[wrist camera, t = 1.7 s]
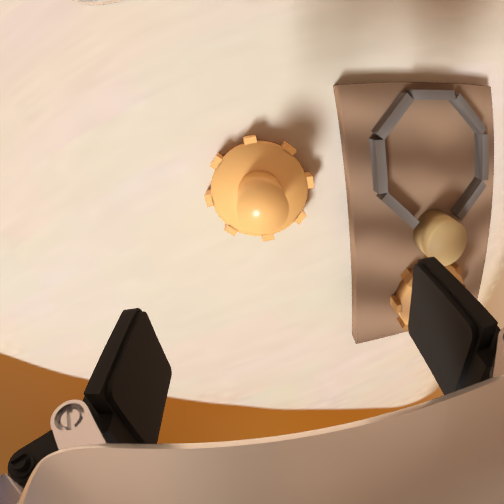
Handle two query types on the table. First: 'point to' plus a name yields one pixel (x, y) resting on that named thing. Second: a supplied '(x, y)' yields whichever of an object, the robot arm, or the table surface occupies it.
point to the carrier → (413, 191)
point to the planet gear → (259, 188)
